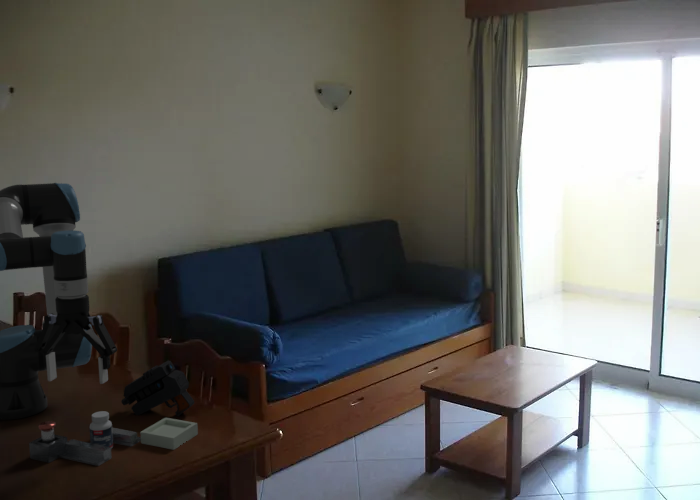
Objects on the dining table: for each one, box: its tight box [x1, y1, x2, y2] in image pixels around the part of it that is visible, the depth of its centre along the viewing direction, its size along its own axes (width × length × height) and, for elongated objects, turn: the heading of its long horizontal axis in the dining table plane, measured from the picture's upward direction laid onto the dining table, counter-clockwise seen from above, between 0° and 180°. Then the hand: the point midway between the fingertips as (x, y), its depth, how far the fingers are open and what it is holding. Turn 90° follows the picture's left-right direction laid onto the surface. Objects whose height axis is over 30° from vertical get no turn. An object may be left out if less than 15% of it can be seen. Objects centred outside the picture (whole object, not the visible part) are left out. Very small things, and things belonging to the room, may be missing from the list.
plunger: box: [38, 420, 57, 444], centre depth 173 cm, size 4×4×6 cm
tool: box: [120, 360, 195, 417], centre depth 199 cm, size 6×19×15 cm, turn 79°
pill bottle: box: [89, 410, 114, 450], centre depth 176 cm, size 5×5×9 cm
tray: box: [139, 417, 199, 451], centre depth 182 cm, size 10×10×3 cm
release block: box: [28, 433, 69, 464], centre depth 173 cm, size 6×6×4 cm
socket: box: [58, 427, 141, 467], centre depth 177 cm, size 12×16×3 cm
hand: (78, 380), depth 175 cm, fingers open, 13 cm apart
